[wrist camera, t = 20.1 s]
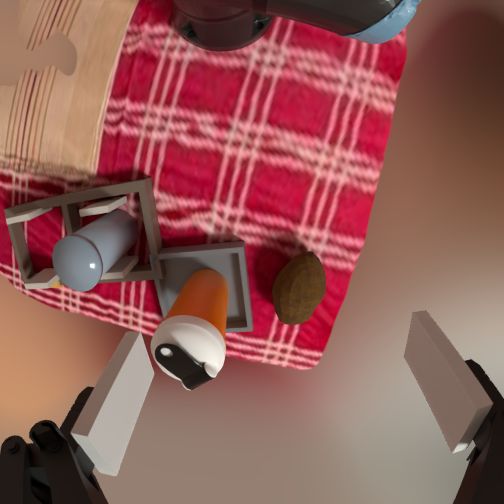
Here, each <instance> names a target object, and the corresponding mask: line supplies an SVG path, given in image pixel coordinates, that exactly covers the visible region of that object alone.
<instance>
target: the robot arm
mask: <svg viewBox="0 0 504 504" xmlns="http://www.w3.org/2000/svg"><path fill="white" fill-rule="evenodd" d="M419 2H421V0H173V3H172V17H173V20H174V23H175V25H176V27H177V29H178V30H179V32H180V33H181V34H182V35H183V37H184V38H185V39H186V40H188V41H189V42H190V43H192V44H193V45H195V46H197V47H200V48H202V49H206V50H210V51H232V50H237V49H240V48H243V47H246V46H248V45H250V44H252V43H254V42H255V41H257V40H258V39H259V38H261V37H262V36H263V35H264V34H265V33H266V32H267V30H268V29H269V28H270V26H271V24H272V22H273V20H274V16H278V17H282V18H286V19H290V20H294V21H297V22H301V23H304V24H308V25H311V26H315V27H318V28H321V29H324V30H327V31H330V32H333V33H336V34H337V35H339V36H341V37H345V38H353V39H356V40H359V41H362V42H365V43H369V44H379V43H383V42H386V41H388V40H390V39H392V38H393V37H395V36H396V35H397V34H398V33H399V32H400V31H401V30H403V29H404V27H405V26H406V25H407V24H408V23H409V21H410V20H411V19H412V17H413V16H414V14H415V12H416V10H417V9H416V5H417V4H418V3H419ZM404 358H405V359H406V361H407V363H408V365H409V367H410V369H411V371H412V372H413V374H414V376H415V378H416V380H417V382H418V384H419V386H420V388H421V390H422V392H423V394H424V396H425V398H426V400H427V402H428V404H429V406H430V408H431V410H432V412H433V414H434V416H435V418H436V420H437V422H438V424H439V426H440V428H441V430H442V433H443V434H444V437H445V439H446V441H447V443H448V446H449V448H450V450H451V452H452V453H455V452H458V451H461V450H463V449H466V448H468V446H469V445H470V443H471V441H472V440H473V441H474V443H475V445H476V446H475V447H474V449H473V450H472V452H471V454H470V455H469V457H468V458H467V461H468V460H469V459H470V461H469V464H468V467H467V470H466V473H465V475H464V478H463V480H462V483H461V486H460V488H459V491H458V493H457V496H456V498H455V500H454V502H453V504H504V398H503V397H502V395H501V394H500V393H499V391H498V390H497V388H496V387H495V386H494V384H493V383H492V381H490V378H489V377H488V376H487V374H485V371H484V370H483V369H482V368H481V366H480V365H479V364H477V363H476V362H474V361H473V360H471V359H470V360H466V361H464V360H463V359H462V357H461V356H460V355H459V353H458V352H457V350H456V349H455V348H454V346H453V345H452V344H451V342H450V341H449V339H448V338H447V337H446V335H445V334H444V333H443V332H442V331H441V329H440V328H439V326H438V325H437V324H436V322H435V321H434V320H433V319H432V317H431V316H430V315H429V314H428V313H427V311H426V310H425V311H418V312H413V314H412V319H411V325H410V330H409V335H408V340H407V345H406V349H405V354H404ZM153 376H154V371H153V368H152V365H151V362H150V359H149V356H148V353H147V350H146V347H145V344H144V341H143V338H142V335H141V332H126V334H125V336H124V337H123V339H122V340H121V342H120V344H119V345H118V348H117V349H116V351H115V353H114V354H113V356H112V358H111V359H110V361H109V363H108V364H107V366H106V368H105V370H104V371H103V373H102V375H101V377H100V379H99V381H98V382H97V384H96V386H95V387H87V388H85V389H84V390H83V391H82V392H81V393H80V394H79V395H78V397H77V399H76V401H75V404H73V406H72V407H71V410H70V411H69V413H68V415H67V417H66V418H65V420H64V422H63V424H62V426H61V427H60V429H59V428H58V427H57V425H56V424H55V423H54V422H52V421H50V420H43V421H40V422H38V423H36V424H35V425H34V426H33V427H32V428H31V430H30V432H29V437H30V439H31V440H32V441H33V444H32V443H30V444H27V443H26V442H25V441H24V440H23V438H22V437H20V436H11V437H8V438H7V439H6V440H5V441H4V442H3V444H2V446H1V452H0V504H108V502H107V500H106V498H105V496H104V494H103V492H102V490H101V488H100V486H99V484H98V482H97V479H96V477H95V476H94V474H93V473H92V471H93V468H94V466H96V468H97V469H98V470H99V471H100V473H104V474H108V475H113V476H117V473H118V471H119V468H120V465H121V462H122V460H123V457H124V454H125V451H126V448H127V445H128V442H129V440H130V437H131V434H132V432H133V429H134V426H135V423H136V421H137V418H138V415H139V413H140V410H141V407H142V405H143V402H144V399H145V397H146V394H147V391H148V389H149V387H150V384H151V381H152V379H153Z"/></svg>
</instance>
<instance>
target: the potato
mask: <svg viewBox="0 0 504 504" xmlns="http://www.w3.org/2000/svg"><path fill="white" fill-rule="evenodd" d="M325 290H326V277H325V271H324V269H323V266H322V264H321V262H320V260H319V258H318V257H317V256H316V255H315V254H314V253H313V252H312V251H309V252H302V253H300V254H298V255H296V256H295V257H294V258H293V259H292V260H290V261H289V262H288V263H287V264H286V265H285V267H284V268H283V269H282V270H281V271H280V272H279V274H278V275H277V277H276V279H275V282H274V284H273V287H272V296H273V303H274V308H275V312H276V314H277V316H278V318H279V320H280V321H281V322H283V323H284V324H289V325H296V324H302V323H303V322H305V321H307V320H309V318H310V317H311V315H312V314H313V312H314V310H315V308H316V306H317V305H318V304H319V303H320V302H321V301H322V299H323V297H324V295H325Z"/></svg>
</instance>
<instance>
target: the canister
mask: <svg viewBox="0 0 504 504" xmlns="http://www.w3.org/2000/svg"><path fill="white" fill-rule="evenodd" d="M137 239H138V227H137V224H136V222H135V220H134V218H133V217H132V216H131V215H130V214H128V213H127V212H125V211H122V210H113V211H110V212H109V213H107V214H105V215H103V216H102V217H100V218H98V219H97V220H95V221H93V222H91V223H90V224H88V225H86V226H85V227H83V228H81V229H80V230H78V231H77V232H75V233H73V234H71V235H68V236H65V237H64V238H62V239H61V240H59V241H58V242H57V244H56V245H55V247H54V250H53V255H52V260H53V266H54V269H55V271H56V274H57V275H58V277H59V278H60V280H61V281H62V282H63V283H64V284H65V285H66V286H68V287H69V288H71V289H73V290H76V291H88V290H90V289H92V288H93V287H94V286H95V285H96V284H97V283H98V282H99V281H100V279H101V277H102V276H103V275H104V274H105V273H106V272H107V271H108V270H109V269H110V268H111V267H112V266H113V265H114V264H115V263H116V262H117V261H118V260H119V259H120V258H121V257H122V256H123V255H124V254H125V253H126V252H127V251H128V250H130V249H131V248H132V247H133V246H134V244H135V243H136V241H137Z"/></svg>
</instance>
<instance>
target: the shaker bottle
mask: <svg viewBox="0 0 504 504" xmlns="http://www.w3.org/2000/svg"><path fill="white" fill-rule="evenodd" d="M228 297H229V286H228V283H227V281H226V279H225V278H224V277H223V276H222V275H221V274H220V273H218V272H216V271H214V270H210V269H202V270H198V271H196V272H194V273H193V274H192V275H191V276H190V277H189V278H188V280H187V281H186V283H185V285H184V287H183V288H182V290H181V292H180V293H179V295H178V297H177V298H176V300H175V302H174V303H173V305H172V307H171V309H170V310H169V312H168V314H167V315H166V317H165V319H164V321H162V322H161V323H160V324H159V326H158V327H157V329H156V331H155V333H154V336H153V338H152V341H151V352H152V355H153V357H154V360H155V361H156V363H157V364H158V366H159V367H160V368H161V369H162V370H163V371H164V372H165V373H166V374H168V375H169V376H171V377H173V378H175V379H178V380H181V382H182V385H183V386H184V387H185V388H186V389H187V390H193V389H195V388H196V387H198V386H200V385H202V384H204V383H206V382H208V381H209V380H211V379H213V378H215V377H216V376H217V373H218V372H219V371H220V370H221V368H222V366H223V363H224V359H225V353H226V344H225V332H226V320H227V308H228Z"/></svg>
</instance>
